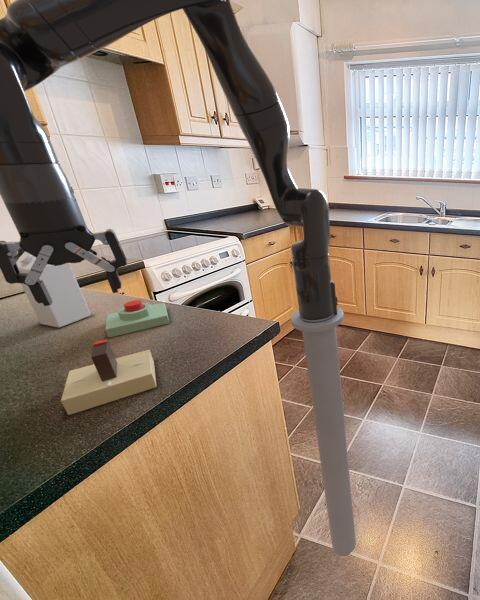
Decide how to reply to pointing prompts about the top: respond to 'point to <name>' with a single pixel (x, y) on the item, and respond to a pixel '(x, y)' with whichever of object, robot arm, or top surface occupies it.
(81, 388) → the panel
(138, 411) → the top surface
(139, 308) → the button
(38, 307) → the milk carton
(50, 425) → the top surface
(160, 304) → the button block
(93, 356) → the brown rectangular block
